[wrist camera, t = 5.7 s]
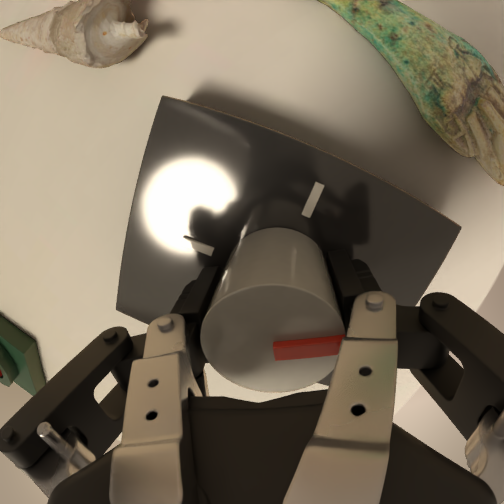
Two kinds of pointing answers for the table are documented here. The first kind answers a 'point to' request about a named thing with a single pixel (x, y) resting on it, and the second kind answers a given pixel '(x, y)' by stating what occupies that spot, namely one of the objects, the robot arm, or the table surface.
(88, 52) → the seashell
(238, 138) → the black dial control panel
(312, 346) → the knob
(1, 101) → the table surface
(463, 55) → the figurine
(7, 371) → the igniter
